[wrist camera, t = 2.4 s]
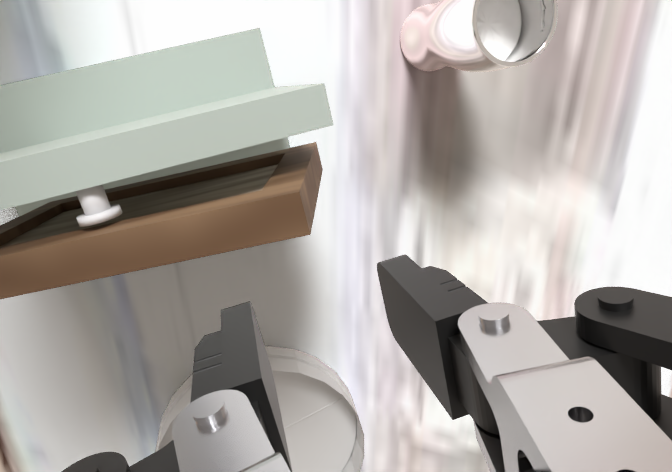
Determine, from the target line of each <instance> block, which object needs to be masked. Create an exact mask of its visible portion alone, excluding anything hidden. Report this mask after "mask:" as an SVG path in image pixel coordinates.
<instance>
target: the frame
mask: <svg viewBox="0 0 672 472" xmlns="http://www.w3.org/2000/svg"><path fill="white" fill-rule="evenodd" d="M321 175H322V165H321V161H320V157H319V153H318V148H317V144H316V142H314V143H310V144H306V145H301V146H297V147H292V148H288V149H283V150H279V151H274V152H270V153H266V154H261V155H257V156H252V157H248V158H243V159H239V160H234V161H230V162H225V163H221V164H217V165H212V166H208V167H203V168H199V169H194V170H190V171H185V172H181V173H176V174H172V175H168V176H163V177H159V178H154V179H150V180H145V181H141V182H136V183H132V184H127V185H123V186H119V187H114V188H110V189H105V193H106V196H107V198H108V201H109V203H110V205H113V204H119V205H120V207H121V210H122V214H121V215H119V216H118V217H116V218H113V219H111V220H108V221H105V222H102V223H99V224H95V225H91V226H85V227H80V226H79V224H78V221H77V219H76V217H77V216H79V215H81V214H83V213H84V211H83V209H82V206H81V204H80V202H79V199H78V197H77V196H74V197H70V198H65V199H61V200H56V201H52V202H49V203H47V204H45V205H43V206H40V207H38V208H36V209H34V210H32V211H30V212H28V213H26V214H24V215H22V216H20V217H17V218H15V219H13V220H11V221H9V222H7V223H5V224H3V225H1V226H0V299H4V298H8V297H13V296H18V295H23V294H27V293H32V292H37V291H42V290H47V289H51V288H56V287H61V286H66V285H71V284H75V283H80V282H85V281H90V280H95V279H99V278H104V277H109V276H114V275H119V274H123V273H128V272H133V271H138V270H143V269H147V268H152V267H157V266H162V265H166V264H171V263H176V262H181V261H186V260H190V259H195V258H200V257H205V256H210V255H214V254H219V253H224V252H229V251H234V250H238V249H243V248H248V247H253V246H258V245H262V244H267V243H272V242H277V241H282V240H286V239H291V238H296V237H301V236H305V235H310V234H311V228H312V223H313V218H314V212H315V207H316V202H317V197H318V191H319V186H320V181H321Z"/></svg>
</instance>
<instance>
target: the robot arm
mask: <svg viewBox="0 0 672 472" xmlns="http://www.w3.org/2000/svg"><path fill="white" fill-rule="evenodd" d="M377 271H378V276H379V281H380V286H381V290H382V295H383V300H384V305H385V309H386V314H387V318H388V322H389V325H390V328H391V331H392V333H393V336H394V338H395V340H396V341H397V343H398V344H399V345H400V347H401V348H402V350H403V351H404V352H405V354H406V355H407V357H408V358H409V359H410V361H411V362H412V364H413V365H414V366H415V368H416V369H417V371H418V372H419V373H420V375H421V376H422V378H423V379H424V380H425V382H426V383H427V385H428V386H429V387H430V389H431V390H432V391H433V393H434V394H435V396H436V397H437V398H438V400H439V401H440V403H441V404H442V405H443V407H444V408H445V410H446V411H447V412H448V414H449V415H450V417H451V418H452V419H453V420H454V419H457V418H460V417H462V416H465V415H468V414H470V415H471V417H472V418H473V421H474V427H475V433H476V438H477V441H478V443H479V446H480V448H481V451H482V453H483V455H484V458H485V460H486V463H487V465H488V467H489V470H490V472H672V398H670V397H667V396H665V395H662V394H661V367H664V368H667V369H670V370H672V297H668V296H664V295H659V294H655V293H650V292H646V291H641V290H637V289H632V288H625V287H603V288H597V289H593V290H589V291H587V292H584V293H583V294H581V295H579V296H578V297H577V299H576V300H575V304H574V305H575V317H568V318H560V319H552V320H543V321H536V320H535V319H534V317H533V316H532V315H531V314H530V313H529V312H528V311H527V310H526V309H524V308H522V307H520V306H517V305H514V304H509V303H487V302H486V301H485V300H484V299H482V298H481V297H480V296H478V295H477V294H476V293H475V292H473V291H472V290H471V289H469V288H468V287H466V286H465V285H464V284H463V283H462V282H461V281H459V280H458V281H457V278H455V277H454V276H453V275H452V274H450V273H449V272H448V271H446V270H443V269H439V268H435V267H432V266H429V267H426V268H421V267H419V266H418V265H417V264H416V263H415V262H414V261H412V260H411V259H410V258H409V257H408V256H407V255H402V256H398V257H395V258H392V259H389V260H385V261H382V262H379V263H378V264H377ZM193 373H194V374H193V378H192V389H191V401H190V404H189V405H187V406H186V407H185V408H184V409H183V410H182V411H181V412H180V413H179V414H178V415H177V417H176V418H175V420H174V422H173V425H172V436H173V440H172V441H171V442H169V443H168V444H167V445H166V446H164V447H163V448H161V449H160V450H158V451H157V452H155V453H153V454H152V455H150V456H148V457H146V458H144V459H143V460H141V461H139V462H137V463H136V464H134V465H132V466H130V467H129V466H128V464H127V461H126V459H125V457H124V456H123V455H121V454H119V453H116V452H103V453H98V454H94V455H91V456H89V457H86V458H84V459H82V460H80V461H78V462H76V463H74V464H72V465H71V466H69V467H68V468H66V469H65V470H63V471H62V472H292V467H291V462H290V457H289V452H288V447H287V442H286V437H285V432H284V427H283V421H282V416H281V411H280V406H279V401H278V396H277V391H276V386H275V381H274V377H273V373H272V369H271V365H270V362H269V358H268V355H267V352H266V348H265V345H264V342H263V339H262V336H261V332H260V329H259V326H258V323H257V319H256V316H255V313H254V310H253V307H252V304H251V302H250V301H249V302H246V303H243V304H239V305H236V306H233V307H230V308H226V309H223V310H221V331H218V332H215V333H211V334H208V335H205V336H204V337H203V339H202V340H201V341H200V343H199V344H198V346H197V347H196V348H195V355H194V366H193Z"/></svg>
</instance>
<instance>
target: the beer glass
mask: <svg viewBox="0 0 672 472" xmlns="http://www.w3.org/2000/svg"><path fill="white" fill-rule="evenodd" d="M557 19H558V4H557V0H440V1H439V2H438V3H437V4H425V5H422V6H420V7H418V8H416V9H415V10H413V11H412V12H411V13H410V14H409V15H408V17H407V18H406V20H405V22H404V24H403V26H402V29H401V35H400V43H401V49H402V52H403V54H404V56H405V58H406V59H407V61H408V62H409V63H410V64H411V65H412V66H414V67H415V68H417V69H419V70H422V71H436V70H439V69H441V68H443V67H445V66H449V67H451V68H455V69H458V70H462V71H468V72H490V71H497V70H502V69H506V68H510V67H517V66H521V65H525V64H527V63H529V62H531V61H533V60H534V59H535V58H537V57H538V56H539V55H540V54H541V53H542V52H543V51H544V50H545V49H546V47H547V46H548V44H549V43H550V41H551V39H552V37H553V34H554V32H555V29H556V25H557Z"/></svg>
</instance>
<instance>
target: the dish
mask: <svg viewBox="0 0 672 472" xmlns="http://www.w3.org/2000/svg"><path fill="white" fill-rule="evenodd" d="M265 348H266V352H267V355H268V358H269V362H270V365H271V369H272V373H273V377H274V381H275V386H276V391H277V396H278V401H279V406H280V411H281V416H282V421H283V427H284V432H285V437H286V442H287V447H288V452H289V457H290V462H291V467H292V472H360V469H361V466H362V462H363V459H364V433H363V430H362V427H361V424H360V421H359V418H358V415H357V412H356V408H355V405H354V402H353V399H352V397H351V394H350V392H349V390H348V388H347V387H346V385H345V384H344V382H343V381H342V380H341V378H340V377H339V376H338V374H337V373H336V372H335V371H334V370H333V369H332V368H330V367H329V366H328V365H326V364H325V363H324V362H322V361H321V360H320V359H318V358H317V357H314V356H312V355H309V354H306V353H304V352H301V351H299V350H296V349H292V348H282V347H273V346H265ZM193 374H194V373H193ZM193 374H192V375H190V377H189V378H188V379H187V380H186V381H185V382H184V383H183V384H182V385H181V386H180V388H179V389H178V390H177V391H176V392H175V393H174V394H173V396H172V398H171V400H170V402H169V404H168V405H167V407H166V409H165V411H164V413H163V415H162V418H161V423H160V428H159V433H158V439H157V445H156V451H155V452H157V451H158V450H160V449H161V448H163V447H164V446H166V445H167V444H168V443H169V442H171V441H172V440H173V436H172V425H173V422H174V420H175V418H176V417H177V415H178V414H179V413H180V412H181V411H182V410H183V409H184V408H185V407H186V406H187V405H189V404H190V401H191V389H192V378H193Z"/></svg>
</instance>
